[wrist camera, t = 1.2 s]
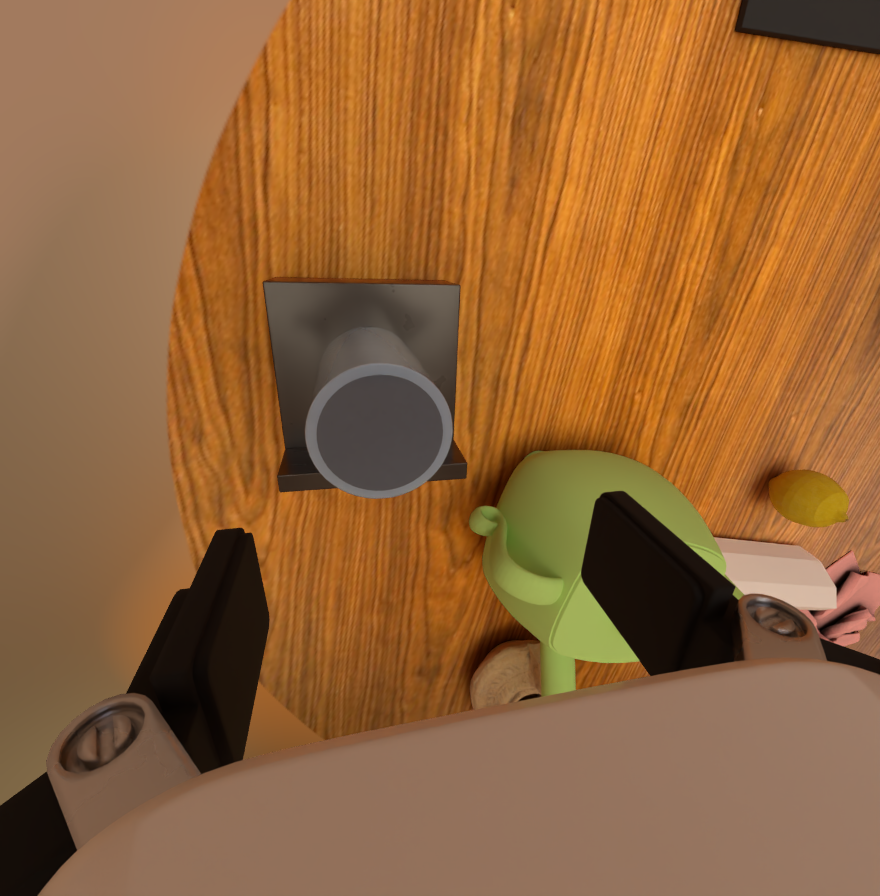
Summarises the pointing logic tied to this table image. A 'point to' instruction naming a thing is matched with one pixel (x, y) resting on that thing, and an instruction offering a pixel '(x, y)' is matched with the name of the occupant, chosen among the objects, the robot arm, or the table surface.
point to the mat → (815, 22)
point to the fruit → (808, 498)
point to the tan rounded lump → (507, 675)
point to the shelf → (342, 309)
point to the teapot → (571, 551)
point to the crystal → (779, 573)
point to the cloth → (847, 602)
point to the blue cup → (376, 416)
